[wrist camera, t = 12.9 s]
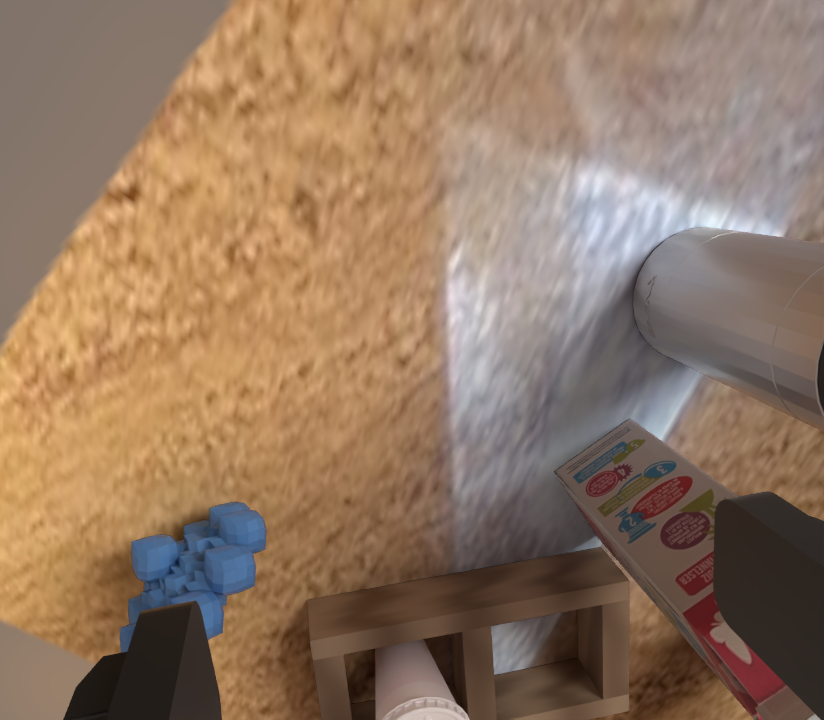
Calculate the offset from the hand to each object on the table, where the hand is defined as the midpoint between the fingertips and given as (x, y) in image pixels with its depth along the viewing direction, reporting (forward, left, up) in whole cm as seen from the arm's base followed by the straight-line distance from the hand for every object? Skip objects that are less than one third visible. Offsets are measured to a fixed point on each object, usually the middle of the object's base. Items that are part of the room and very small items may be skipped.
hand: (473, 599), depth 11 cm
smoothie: (-2, +28, -35) cm, 45 cm away
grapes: (+11, +16, -35) cm, 40 cm away
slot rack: (-7, +28, -35) cm, 45 cm away
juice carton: (-19, +17, -35) cm, 43 cm away
